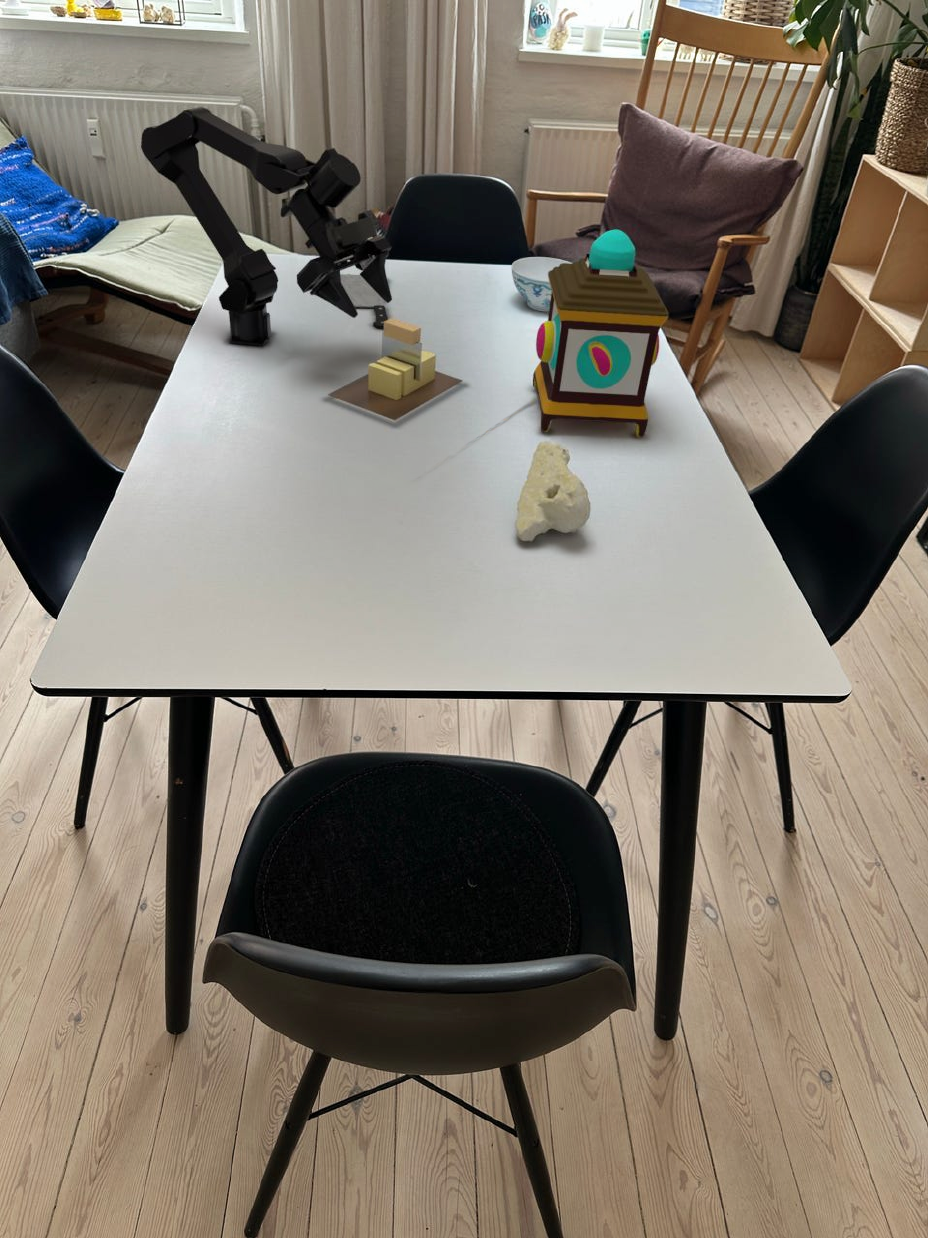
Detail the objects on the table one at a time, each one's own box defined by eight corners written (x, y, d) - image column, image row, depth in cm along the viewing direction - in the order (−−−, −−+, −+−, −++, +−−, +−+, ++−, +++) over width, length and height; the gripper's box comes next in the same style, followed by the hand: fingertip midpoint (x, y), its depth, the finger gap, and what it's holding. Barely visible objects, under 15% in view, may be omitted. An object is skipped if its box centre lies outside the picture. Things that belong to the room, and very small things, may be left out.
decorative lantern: (634, 390, 166) (669, 214, 147) (654, 443, 150) (696, 255, 131) (523, 384, 164) (544, 206, 146) (532, 437, 149) (557, 246, 130)
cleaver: (340, 327, 178) (392, 328, 179) (340, 324, 178) (392, 325, 179) (340, 276, 201) (386, 277, 202) (340, 273, 200) (386, 274, 202)
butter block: (375, 385, 157) (376, 360, 155) (407, 369, 163) (407, 344, 161) (404, 396, 155) (405, 371, 152) (434, 379, 161) (436, 354, 158)
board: (327, 399, 154) (327, 394, 154) (398, 363, 168) (399, 357, 167) (394, 425, 149) (394, 420, 148) (462, 385, 162) (463, 380, 162)
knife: (378, 369, 158) (378, 319, 152) (386, 365, 159) (386, 316, 154) (416, 383, 155) (418, 332, 149) (423, 379, 156) (426, 329, 151)
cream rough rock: (568, 574, 124) (634, 485, 124) (536, 543, 119) (604, 451, 120) (508, 546, 136) (568, 465, 137) (477, 517, 132) (539, 434, 133)
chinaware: (581, 321, 190) (587, 284, 185) (508, 316, 189) (512, 278, 185) (575, 295, 202) (580, 259, 197) (507, 290, 201) (510, 254, 196)
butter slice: (368, 389, 156) (368, 364, 153) (372, 387, 157) (372, 362, 154) (396, 400, 154) (397, 375, 151) (401, 398, 154) (401, 372, 152)
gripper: (307, 206, 139) (365, 297, 141) (383, 184, 151) (435, 268, 154) (271, 248, 147) (327, 333, 149) (346, 223, 159) (396, 303, 162)
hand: (373, 308), depth 153 cm, fingers open, 9 cm apart
